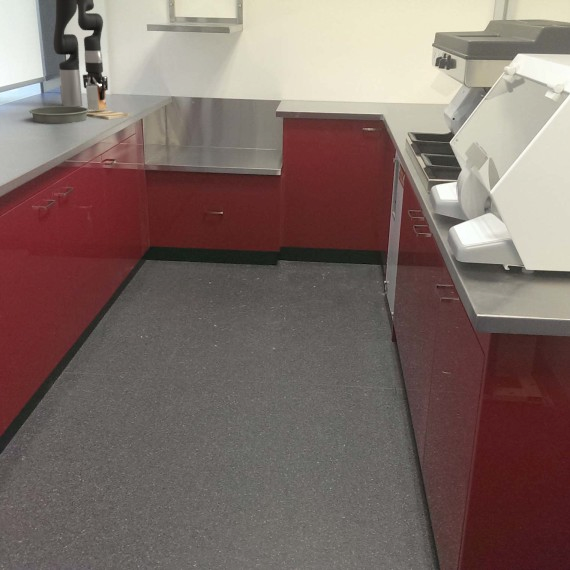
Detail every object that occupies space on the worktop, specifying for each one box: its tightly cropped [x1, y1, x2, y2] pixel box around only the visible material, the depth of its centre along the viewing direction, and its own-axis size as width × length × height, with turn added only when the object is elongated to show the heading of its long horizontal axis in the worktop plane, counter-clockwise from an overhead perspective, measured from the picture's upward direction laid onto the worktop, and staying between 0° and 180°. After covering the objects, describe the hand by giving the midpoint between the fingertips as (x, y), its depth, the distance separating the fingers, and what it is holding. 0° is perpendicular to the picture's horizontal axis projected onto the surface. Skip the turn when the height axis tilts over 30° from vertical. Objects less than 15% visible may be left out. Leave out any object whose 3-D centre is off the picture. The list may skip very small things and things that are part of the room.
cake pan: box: [28, 105, 90, 124], centre depth 294 cm, size 25×25×4 cm
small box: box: [85, 85, 107, 111], centre depth 309 cm, size 8×6×10 cm
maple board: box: [86, 109, 132, 120], centre depth 308 cm, size 20×13×1 cm, turn 55°
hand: (96, 99), depth 309 cm, fingers closed on small box, 7 cm apart
